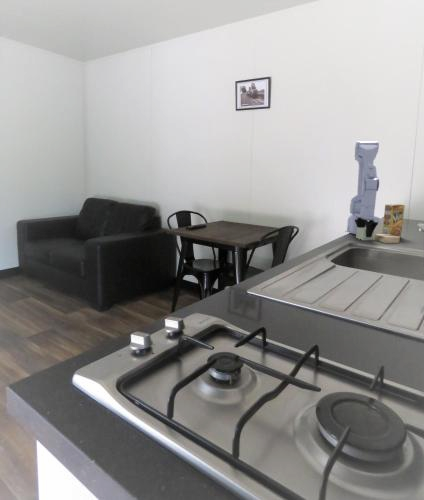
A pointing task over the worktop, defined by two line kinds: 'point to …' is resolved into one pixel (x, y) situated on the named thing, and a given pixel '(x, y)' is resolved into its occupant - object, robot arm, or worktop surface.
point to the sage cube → (363, 234)
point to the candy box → (393, 219)
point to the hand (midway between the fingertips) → (364, 236)
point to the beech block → (387, 238)
